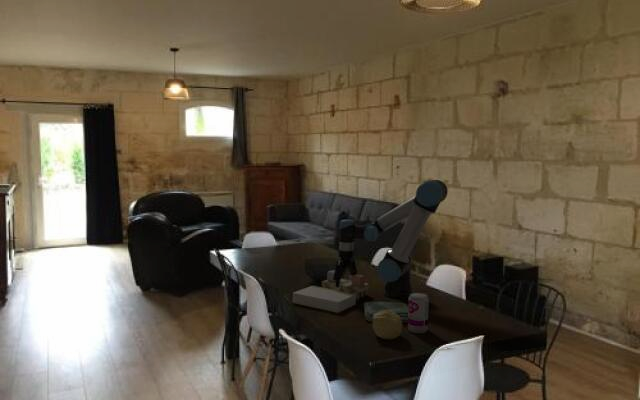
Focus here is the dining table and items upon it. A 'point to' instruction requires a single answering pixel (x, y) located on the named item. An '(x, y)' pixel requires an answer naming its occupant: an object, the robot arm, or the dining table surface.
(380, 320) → the tan round ball
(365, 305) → the towel
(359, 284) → the block
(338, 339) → the dining table surface
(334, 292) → the dock
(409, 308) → the supplement can
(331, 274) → the grey cube
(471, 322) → the dining table surface
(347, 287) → the board
